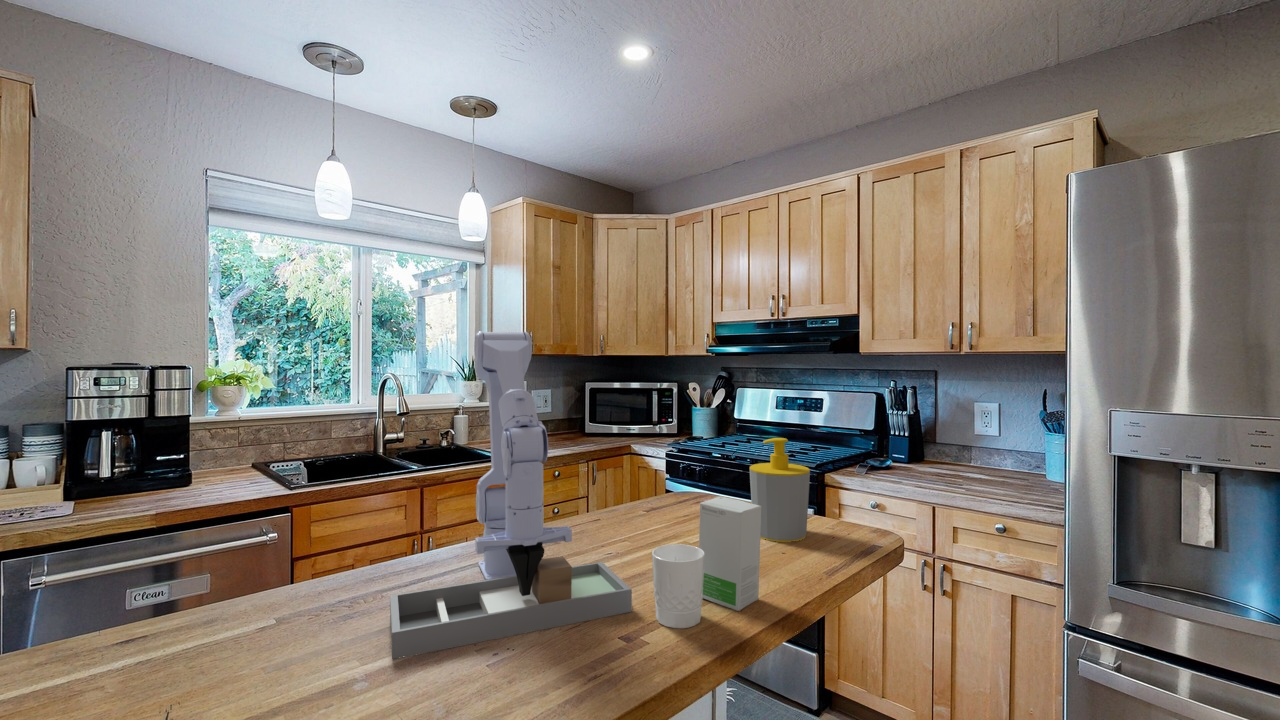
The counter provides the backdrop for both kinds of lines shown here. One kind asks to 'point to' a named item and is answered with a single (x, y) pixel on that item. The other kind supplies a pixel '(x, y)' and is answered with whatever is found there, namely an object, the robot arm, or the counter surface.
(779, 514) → the soap bottle
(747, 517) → the skincare box
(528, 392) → the robot arm
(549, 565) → the walnut block
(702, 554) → the white cup
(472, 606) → the box
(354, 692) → the counter surface
